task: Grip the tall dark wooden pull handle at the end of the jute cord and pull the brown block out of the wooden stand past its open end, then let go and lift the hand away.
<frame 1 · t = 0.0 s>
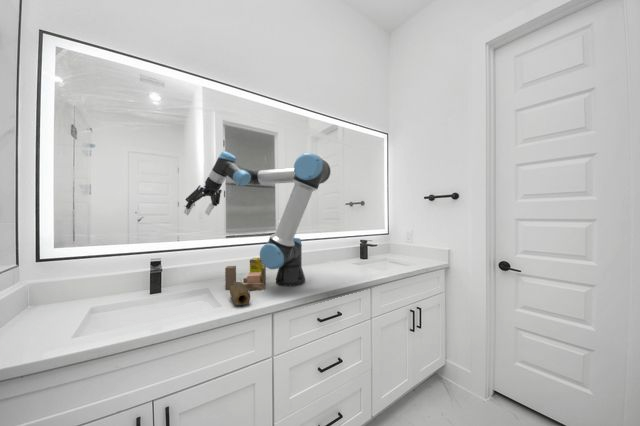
hand: (196, 213, 126), 36 cm above the counter, tool tilted 35°, fingers open, 13 cm apart
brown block: (243, 276, 115), point 5 cm above the counter, slide at 0.0 cm
wooden stand: (245, 287, 115), on the counter
supplement box: (256, 278, 131), on the counter
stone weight: (239, 301, 97), on the counter
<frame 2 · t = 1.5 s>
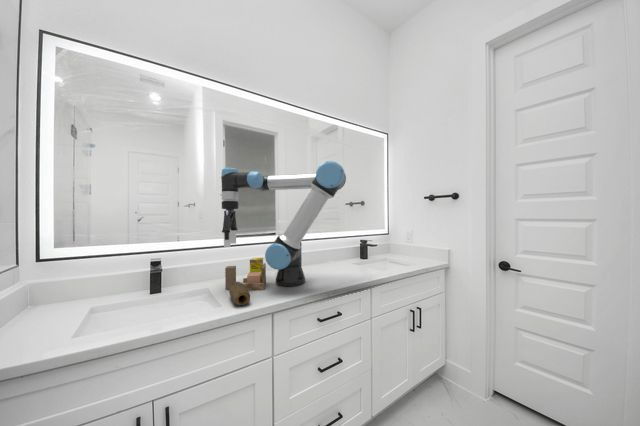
hand: (230, 245, 114), 21 cm above the counter, tool pointing down, fingers open, 13 cm apart
nothing on the counter moved.
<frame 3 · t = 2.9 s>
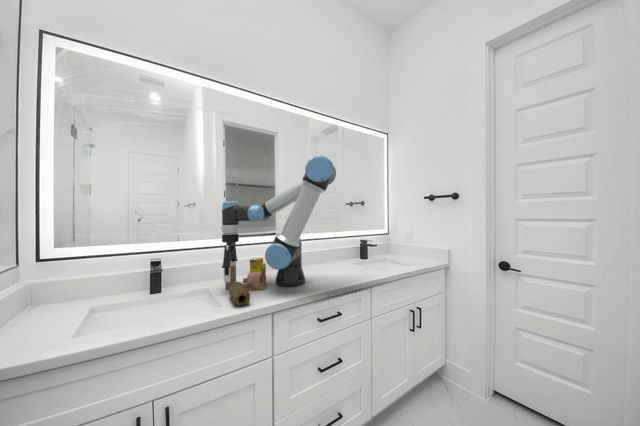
hand: (230, 278, 114), 5 cm above the counter, tool pointing down, fingers open, 13 cm apart
nothing on the counter moved.
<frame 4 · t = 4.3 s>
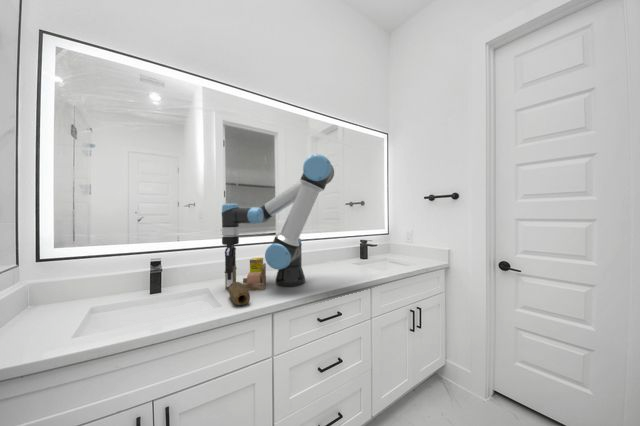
hand: (230, 284, 114), 2 cm above the counter, tool pointing down, fingers closed on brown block, 4 cm apart
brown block: (243, 276, 115), point 5 cm above the counter, slide at 0.0 cm, touching gripper
everything else where it was.
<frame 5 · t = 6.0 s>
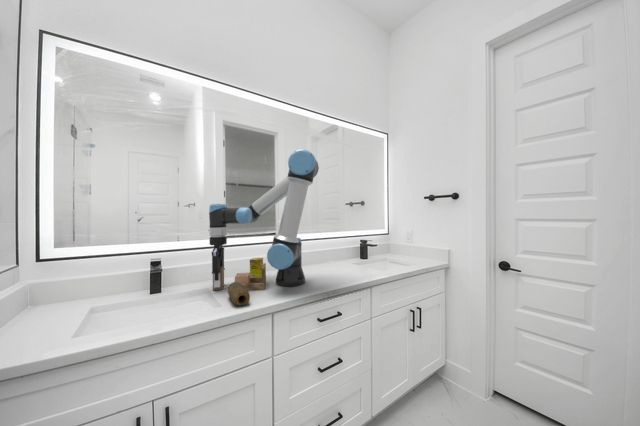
hand: (218, 285, 113), 2 cm above the counter, tool pointing down, fingers closed on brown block, 4 cm apart
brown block: (231, 277, 114), point 5 cm above the counter, slide at 5.6 cm, touching gripper
everything else where it was.
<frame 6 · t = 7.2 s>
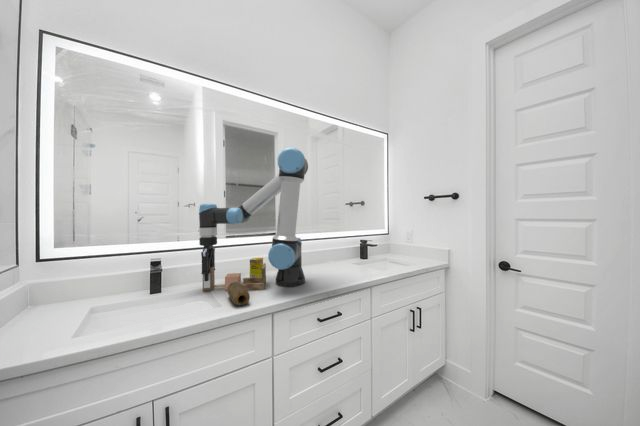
hand: (208, 285, 112), 2 cm above the counter, tool pointing down, fingers closed on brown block, 4 cm apart
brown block: (222, 277, 113), point 5 cm above the counter, slide at 10.0 cm, touching gripper
everything else where it was.
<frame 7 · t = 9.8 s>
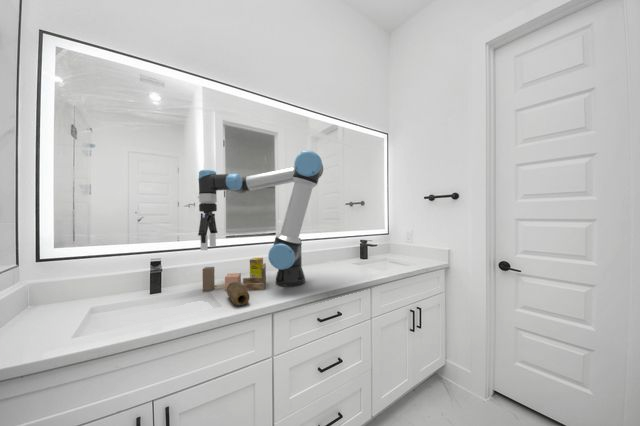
hand: (208, 248, 112), 19 cm above the counter, tool pointing down, fingers open, 13 cm apart
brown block: (222, 277, 113), point 5 cm above the counter, slide at 10.0 cm
everything else where it was.
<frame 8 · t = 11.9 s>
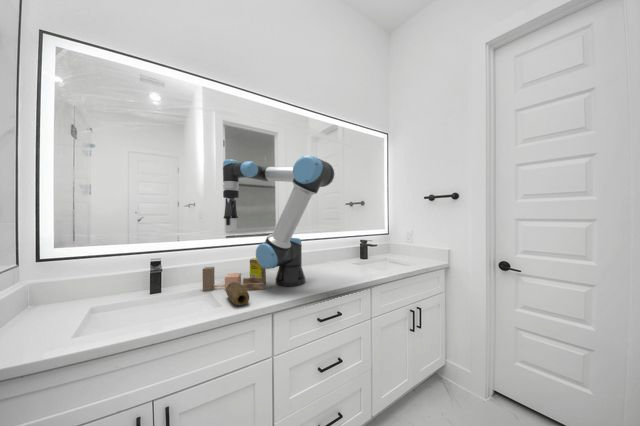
hand: (231, 231, 124), 27 cm above the counter, tool pointing down, fingers open, 13 cm apart
nothing on the counter moved.
at the end: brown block slide at 10.0 cm; the gripper is holding nothing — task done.
